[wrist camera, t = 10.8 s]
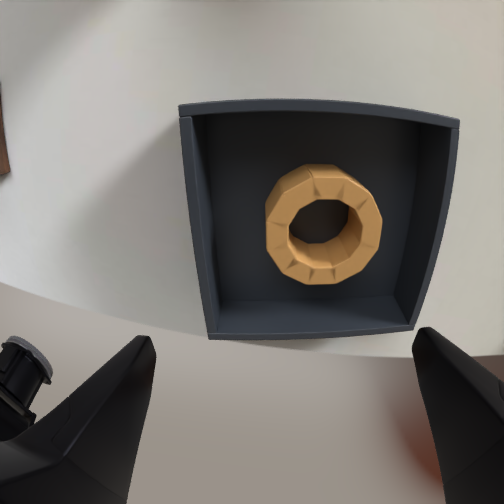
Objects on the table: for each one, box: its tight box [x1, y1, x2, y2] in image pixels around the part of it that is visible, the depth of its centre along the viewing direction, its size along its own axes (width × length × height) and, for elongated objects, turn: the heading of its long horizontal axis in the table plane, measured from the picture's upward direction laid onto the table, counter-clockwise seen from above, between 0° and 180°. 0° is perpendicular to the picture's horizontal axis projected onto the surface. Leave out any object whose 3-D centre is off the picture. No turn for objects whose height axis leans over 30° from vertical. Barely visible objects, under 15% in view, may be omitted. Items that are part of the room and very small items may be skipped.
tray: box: [178, 99, 460, 340], centre depth 17 cm, size 14×14×4 cm
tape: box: [265, 164, 382, 285], centre depth 17 cm, size 6×6×3 cm
